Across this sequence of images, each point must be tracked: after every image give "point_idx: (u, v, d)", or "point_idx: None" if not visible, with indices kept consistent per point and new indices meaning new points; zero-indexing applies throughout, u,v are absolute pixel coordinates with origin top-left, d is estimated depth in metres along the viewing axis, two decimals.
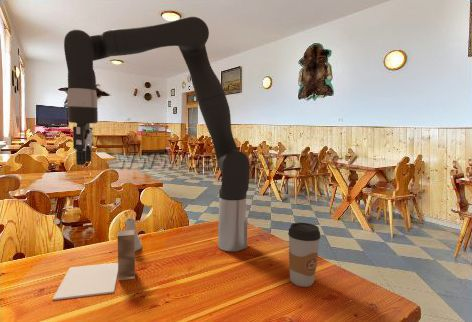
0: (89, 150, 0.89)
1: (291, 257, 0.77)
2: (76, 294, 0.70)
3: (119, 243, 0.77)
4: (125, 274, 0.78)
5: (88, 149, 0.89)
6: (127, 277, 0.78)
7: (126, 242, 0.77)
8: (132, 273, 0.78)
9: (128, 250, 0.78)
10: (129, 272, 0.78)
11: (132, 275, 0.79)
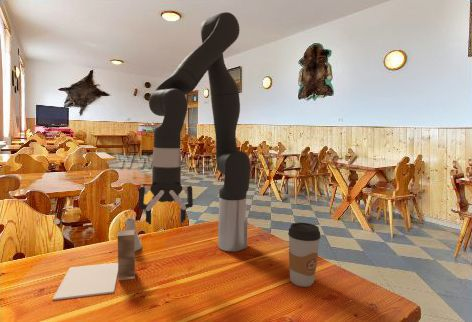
0: None
1: (291, 257, 0.77)
2: (76, 294, 0.70)
3: (119, 243, 0.77)
4: (125, 274, 0.78)
5: None
6: (127, 277, 0.78)
7: (126, 242, 0.77)
8: (132, 273, 0.78)
9: (128, 250, 0.78)
10: (129, 272, 0.78)
11: (132, 275, 0.79)
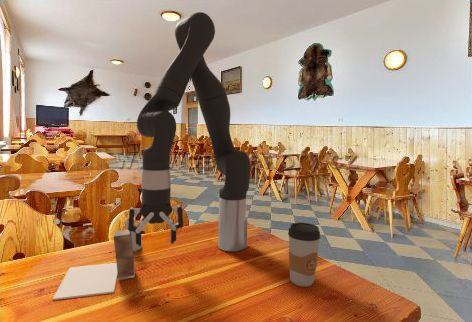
0: None
1: (291, 257, 0.77)
2: (76, 294, 0.70)
3: (116, 243, 0.76)
4: (125, 274, 0.78)
5: None
6: (127, 276, 0.78)
7: (123, 242, 0.77)
8: (131, 272, 0.78)
9: (125, 249, 0.77)
10: (128, 271, 0.78)
11: (132, 274, 0.78)
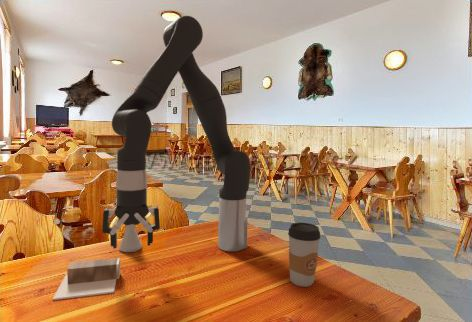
0: (116, 234, 0.79)
1: (291, 257, 0.77)
2: (76, 294, 0.70)
3: (76, 281, 0.75)
4: (113, 272, 0.77)
5: (116, 233, 0.78)
6: (116, 270, 0.77)
7: (76, 275, 0.74)
8: (112, 266, 0.77)
9: (85, 273, 0.75)
10: (111, 269, 0.77)
11: (115, 266, 0.77)
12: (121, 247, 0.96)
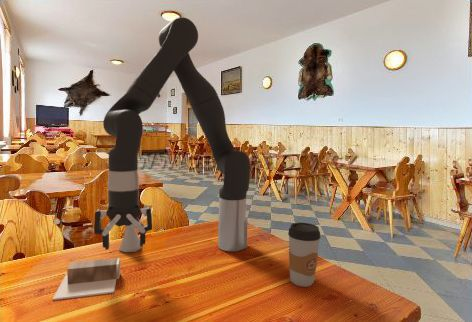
0: (108, 235, 0.78)
1: (291, 257, 0.77)
2: (76, 294, 0.70)
3: (76, 281, 0.75)
4: (113, 272, 0.77)
5: (108, 234, 0.78)
6: (116, 270, 0.77)
7: (76, 275, 0.74)
8: (112, 266, 0.77)
9: (85, 273, 0.75)
10: (111, 269, 0.77)
11: (115, 266, 0.77)
12: (121, 247, 0.96)
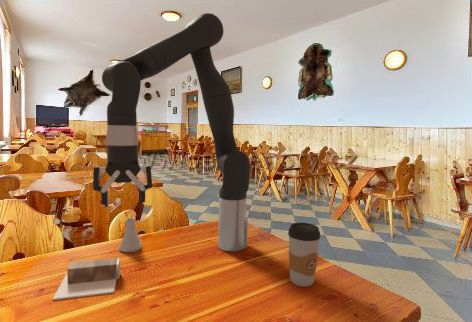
0: None
1: (291, 257, 0.77)
2: (76, 294, 0.70)
3: (76, 281, 0.75)
4: (113, 272, 0.77)
5: (107, 192, 0.77)
6: (116, 270, 0.77)
7: (76, 275, 0.74)
8: (112, 266, 0.77)
9: (85, 273, 0.75)
10: (111, 269, 0.77)
11: (115, 266, 0.77)
12: (121, 247, 0.96)
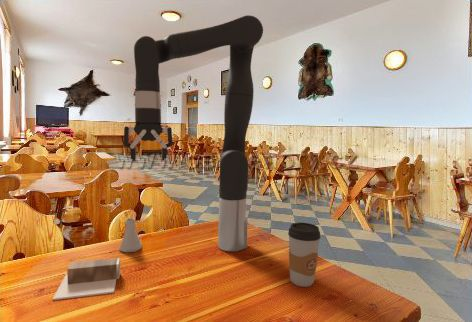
0: None
1: (291, 257, 0.77)
2: (76, 294, 0.70)
3: (76, 281, 0.75)
4: (113, 272, 0.77)
5: None
6: (116, 270, 0.77)
7: (76, 275, 0.74)
8: (112, 266, 0.77)
9: (85, 273, 0.75)
10: (111, 269, 0.77)
11: (115, 266, 0.77)
12: (121, 247, 0.96)
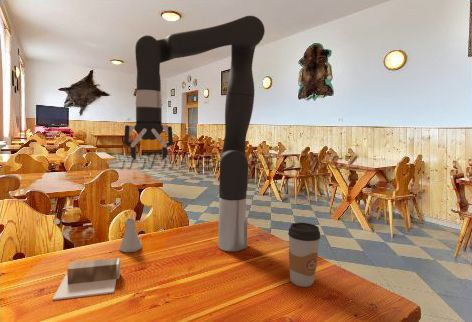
0: (135, 148, 0.91)
1: (291, 257, 0.77)
2: (76, 294, 0.70)
3: (76, 281, 0.75)
4: (113, 272, 0.77)
5: (135, 147, 0.91)
6: (116, 270, 0.77)
7: (76, 275, 0.74)
8: (112, 266, 0.77)
9: (85, 273, 0.75)
10: (111, 269, 0.77)
11: (115, 266, 0.77)
12: (121, 247, 0.96)
